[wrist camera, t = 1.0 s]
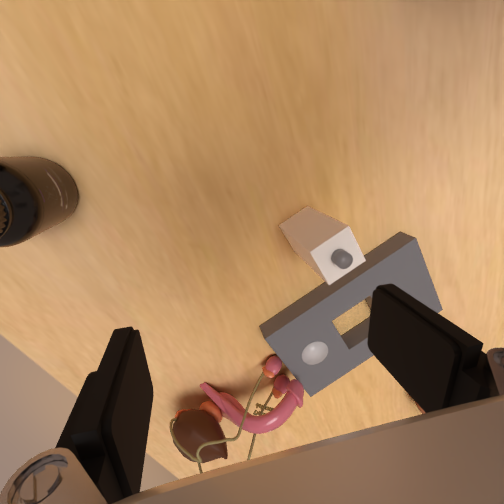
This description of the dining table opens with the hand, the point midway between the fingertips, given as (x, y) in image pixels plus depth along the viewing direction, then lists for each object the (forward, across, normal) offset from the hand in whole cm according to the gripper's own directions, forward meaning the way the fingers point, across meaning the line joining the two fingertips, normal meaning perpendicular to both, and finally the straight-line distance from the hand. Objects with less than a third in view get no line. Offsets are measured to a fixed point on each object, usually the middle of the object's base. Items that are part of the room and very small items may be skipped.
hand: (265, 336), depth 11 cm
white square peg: (+24, -11, +4) cm, 27 cm away
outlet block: (+24, -18, +18) cm, 35 cm away
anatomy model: (+24, 0, +27) cm, 37 cm away
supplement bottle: (+24, +17, -4) cm, 30 cm away
